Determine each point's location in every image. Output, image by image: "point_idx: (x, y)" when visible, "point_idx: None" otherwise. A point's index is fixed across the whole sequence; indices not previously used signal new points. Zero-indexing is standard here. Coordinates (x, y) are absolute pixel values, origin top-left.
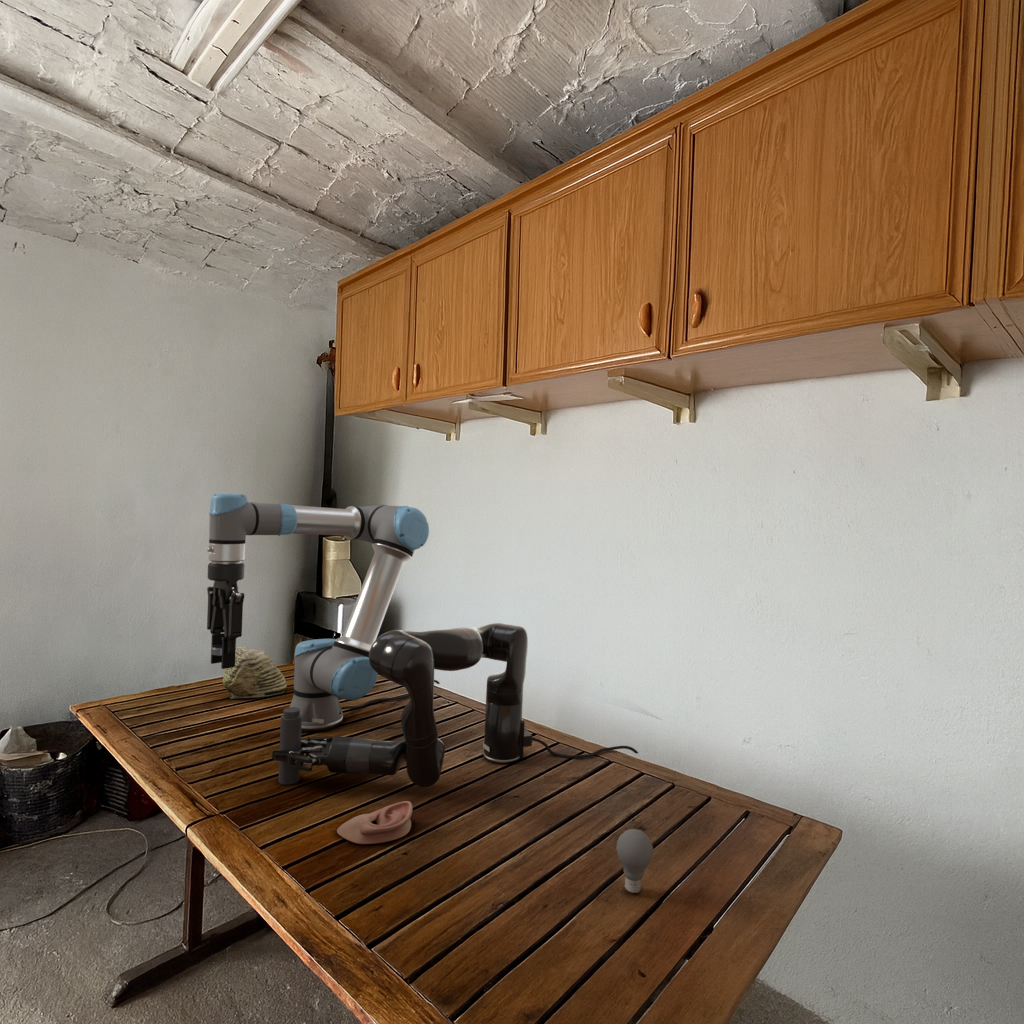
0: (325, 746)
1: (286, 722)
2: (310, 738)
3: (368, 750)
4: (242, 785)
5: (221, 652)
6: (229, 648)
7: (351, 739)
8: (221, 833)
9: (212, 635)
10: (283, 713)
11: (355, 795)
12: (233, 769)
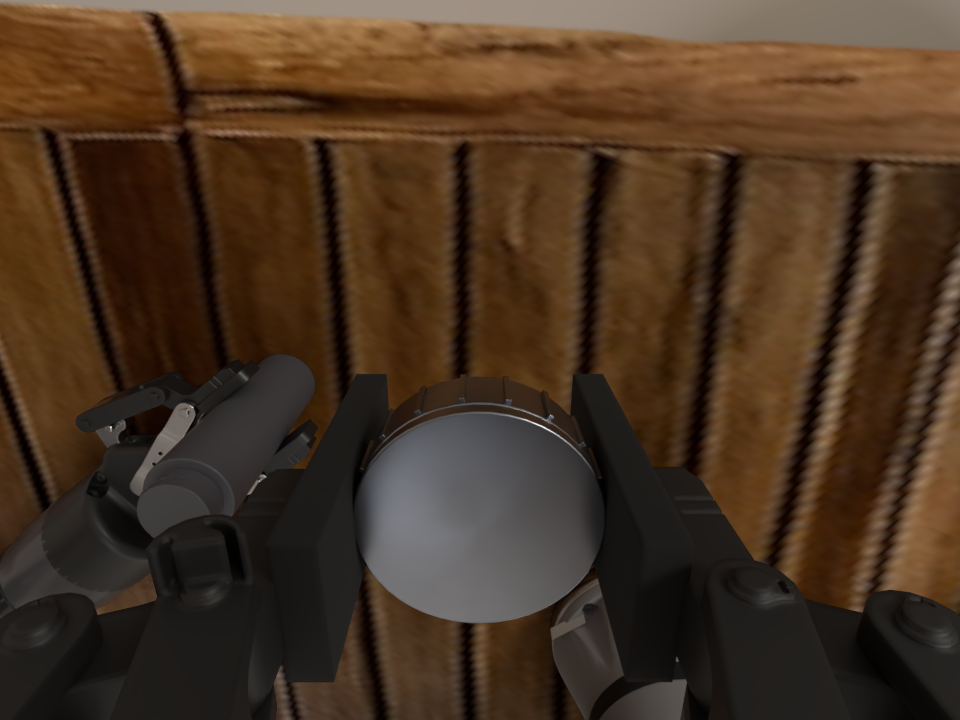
0: None
1: (163, 458)
2: None
3: (1, 571)
4: (336, 267)
5: (377, 444)
6: (242, 512)
7: (59, 572)
8: (50, 75)
9: (664, 541)
10: (178, 477)
11: (90, 460)
12: (470, 298)
